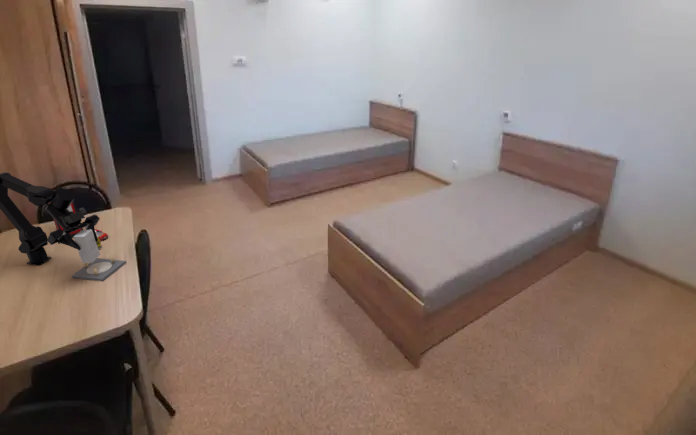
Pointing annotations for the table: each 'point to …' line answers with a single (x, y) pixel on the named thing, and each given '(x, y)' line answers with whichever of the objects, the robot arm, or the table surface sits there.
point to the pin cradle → (99, 269)
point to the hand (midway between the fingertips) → (89, 245)
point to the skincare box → (87, 246)
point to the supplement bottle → (98, 242)
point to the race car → (101, 235)
